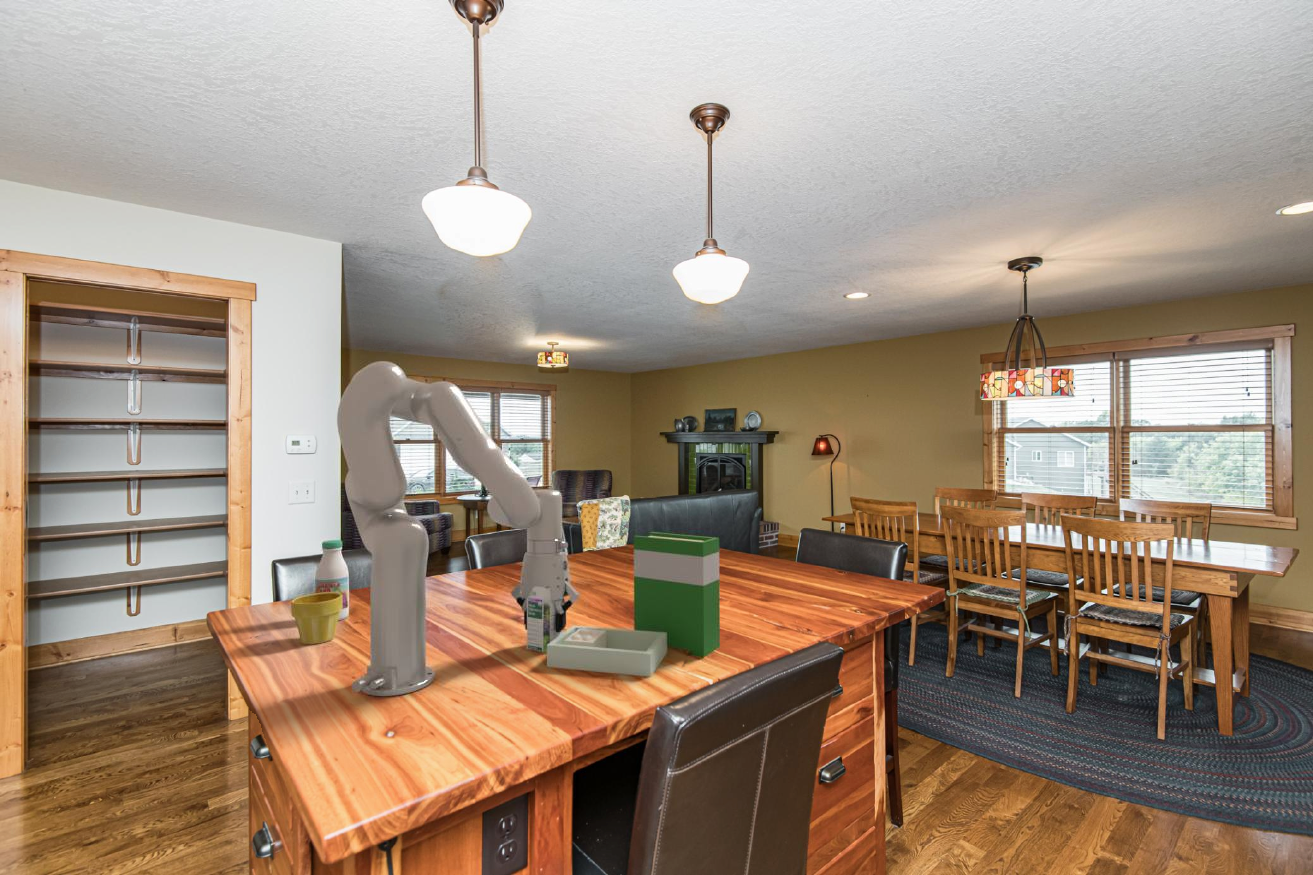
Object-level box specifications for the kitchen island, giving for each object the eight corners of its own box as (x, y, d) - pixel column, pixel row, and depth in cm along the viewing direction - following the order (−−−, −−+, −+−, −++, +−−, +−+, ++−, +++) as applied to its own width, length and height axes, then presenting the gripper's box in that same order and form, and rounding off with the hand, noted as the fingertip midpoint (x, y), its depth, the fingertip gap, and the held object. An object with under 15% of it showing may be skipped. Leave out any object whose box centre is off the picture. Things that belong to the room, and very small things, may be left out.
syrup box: (525, 652, 127) (525, 584, 127) (543, 644, 132) (542, 579, 133) (546, 656, 125) (546, 587, 125) (563, 648, 130) (563, 581, 130)
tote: (650, 680, 112) (650, 654, 112) (546, 670, 117) (546, 645, 117) (667, 656, 124) (666, 632, 124) (572, 648, 130) (572, 625, 130)
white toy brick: (592, 665, 117) (592, 639, 117) (564, 662, 119) (564, 636, 119) (606, 651, 125) (605, 627, 125) (579, 649, 126) (579, 625, 127)
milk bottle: (316, 616, 155) (316, 540, 155) (349, 612, 158) (349, 538, 159) (313, 624, 148) (313, 544, 148) (348, 620, 151) (348, 542, 152)
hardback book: (634, 643, 133) (633, 536, 133) (652, 634, 139) (651, 531, 140) (703, 657, 124) (703, 542, 124) (719, 647, 130) (719, 537, 130)
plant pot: (279, 645, 133) (279, 601, 133) (318, 631, 143) (318, 590, 143) (315, 649, 130) (316, 604, 130) (353, 635, 140) (353, 593, 140)
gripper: (588, 545, 130) (588, 627, 130) (516, 542, 135) (516, 621, 134) (575, 551, 123) (575, 638, 123) (500, 548, 127) (500, 631, 127)
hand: (545, 628), depth 129 cm, fingers closed on syrup box, 6 cm apart
